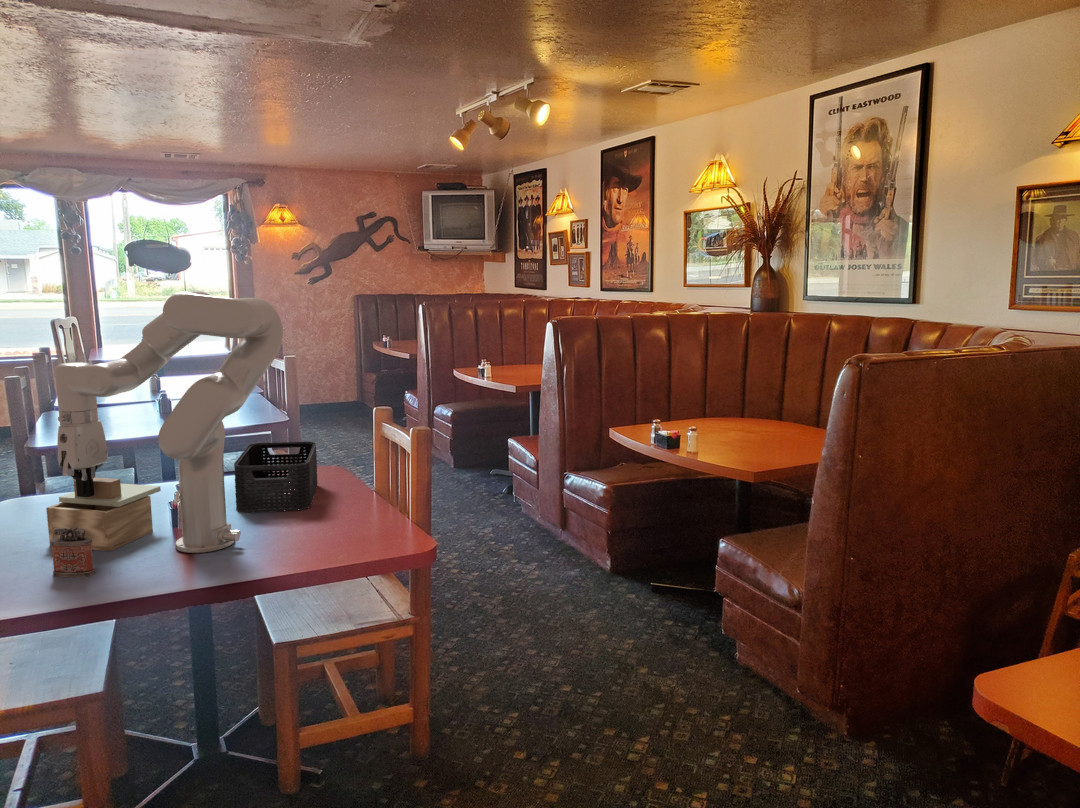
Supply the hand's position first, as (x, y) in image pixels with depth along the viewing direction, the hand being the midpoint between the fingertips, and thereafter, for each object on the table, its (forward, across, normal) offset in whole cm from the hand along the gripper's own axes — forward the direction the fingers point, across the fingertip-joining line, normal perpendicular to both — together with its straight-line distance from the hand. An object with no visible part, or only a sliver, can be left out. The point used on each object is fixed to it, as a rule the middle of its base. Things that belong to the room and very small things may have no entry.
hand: (85, 495), depth 176 cm
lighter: (+12, -16, -11) cm, 23 cm away
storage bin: (+12, +46, -22) cm, 52 cm away
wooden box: (+12, +4, 0) cm, 12 cm away
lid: (+2, +8, 0) cm, 8 cm away
